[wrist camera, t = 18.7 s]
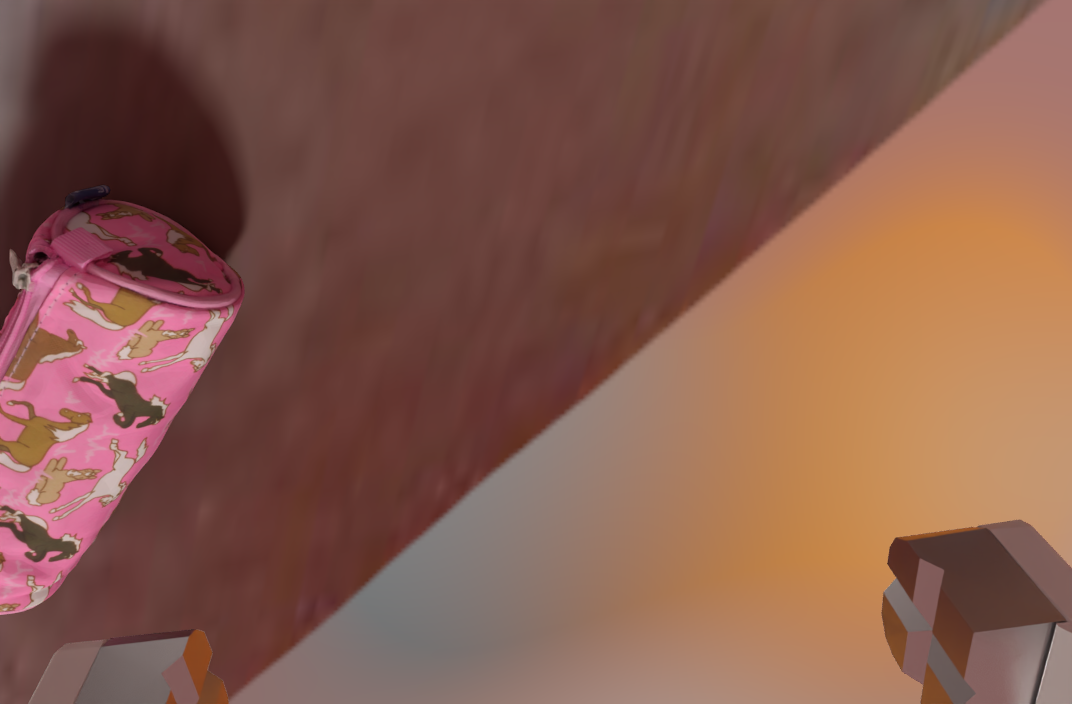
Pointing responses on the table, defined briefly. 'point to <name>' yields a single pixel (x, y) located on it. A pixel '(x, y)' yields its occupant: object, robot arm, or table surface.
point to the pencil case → (95, 374)
